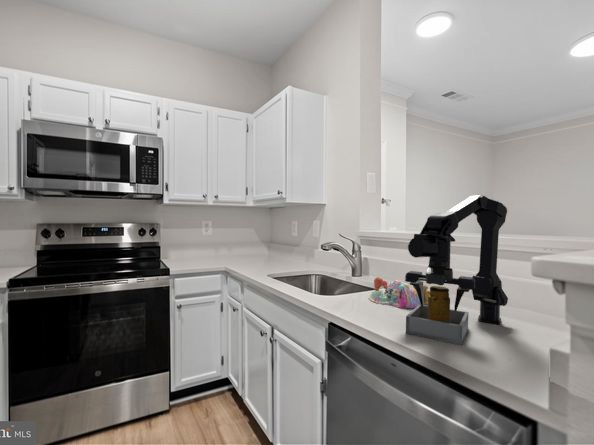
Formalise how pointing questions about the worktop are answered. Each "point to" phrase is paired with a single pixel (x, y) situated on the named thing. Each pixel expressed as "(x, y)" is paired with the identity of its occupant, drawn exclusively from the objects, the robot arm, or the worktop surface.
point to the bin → (437, 325)
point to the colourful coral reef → (397, 294)
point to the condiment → (439, 304)
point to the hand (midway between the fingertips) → (438, 308)
